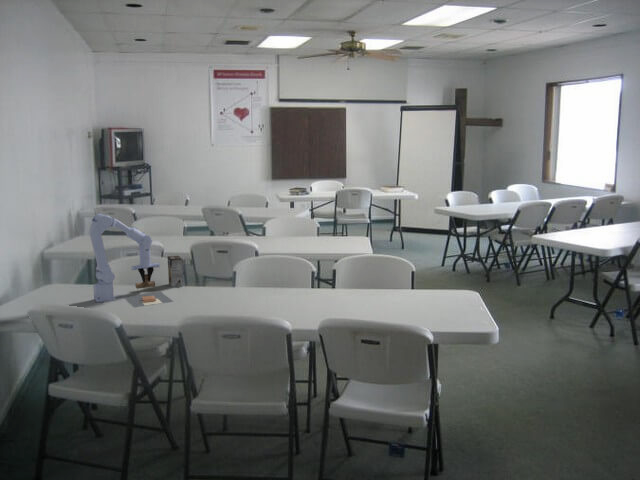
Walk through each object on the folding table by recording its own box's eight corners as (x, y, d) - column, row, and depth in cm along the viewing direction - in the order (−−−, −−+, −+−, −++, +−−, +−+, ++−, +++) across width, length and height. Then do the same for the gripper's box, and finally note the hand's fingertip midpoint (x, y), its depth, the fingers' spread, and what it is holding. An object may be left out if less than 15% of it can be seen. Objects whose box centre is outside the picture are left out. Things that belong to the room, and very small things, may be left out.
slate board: (134, 308, 302) (133, 307, 302) (122, 297, 320) (122, 296, 320) (173, 302, 312) (173, 301, 312) (160, 292, 331) (160, 291, 330)
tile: (143, 302, 310) (143, 299, 309) (142, 299, 315) (141, 296, 315) (155, 301, 312) (155, 298, 312) (153, 298, 318) (153, 295, 317)
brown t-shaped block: (136, 288, 330) (137, 277, 327) (135, 286, 332) (135, 275, 329) (155, 286, 335) (155, 275, 332) (153, 284, 337) (154, 273, 334)
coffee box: (168, 284, 349) (167, 256, 346) (179, 282, 351) (178, 255, 348) (171, 287, 340) (170, 259, 338) (183, 286, 343) (182, 258, 340)
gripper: (156, 254, 335) (157, 278, 338) (129, 257, 328) (130, 281, 330) (160, 256, 329) (161, 281, 332) (133, 259, 322) (134, 284, 324)
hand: (146, 281), depth 331 cm, fingers closed on brown t-shaped block, 2 cm apart
